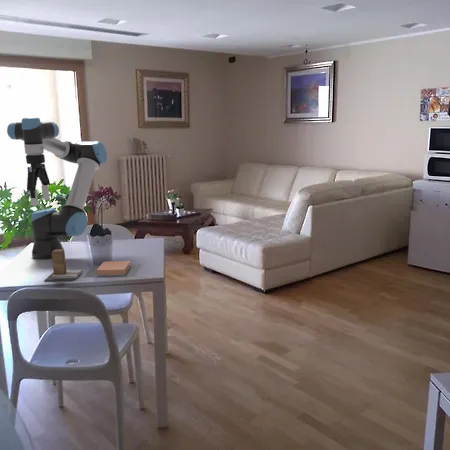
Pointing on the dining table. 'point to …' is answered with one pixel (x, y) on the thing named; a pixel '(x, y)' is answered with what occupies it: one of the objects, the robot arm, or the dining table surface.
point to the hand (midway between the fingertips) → (40, 202)
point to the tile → (113, 268)
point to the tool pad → (50, 279)
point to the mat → (130, 272)
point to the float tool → (62, 266)
